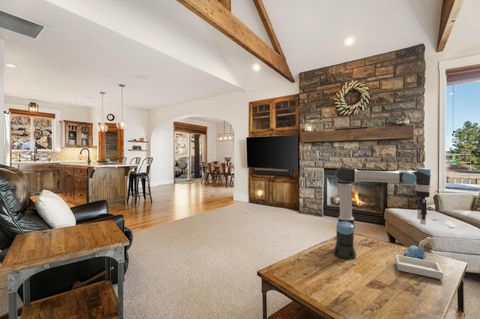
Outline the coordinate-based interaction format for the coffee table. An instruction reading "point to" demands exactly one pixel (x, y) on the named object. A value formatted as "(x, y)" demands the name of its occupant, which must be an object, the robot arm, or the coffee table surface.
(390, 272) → the coffee table surface
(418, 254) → the toy excavator
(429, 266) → the white tray
